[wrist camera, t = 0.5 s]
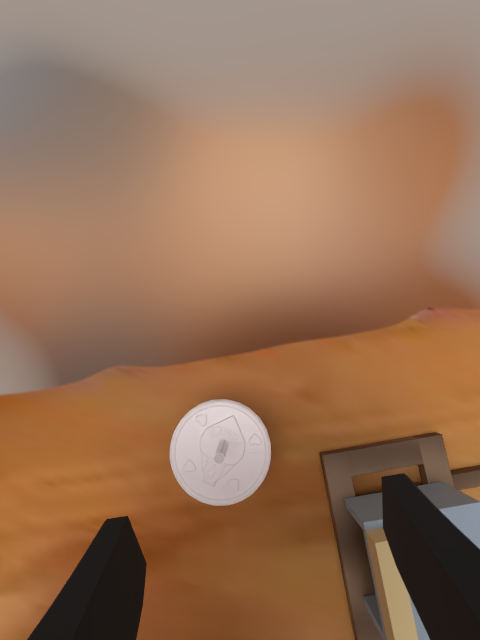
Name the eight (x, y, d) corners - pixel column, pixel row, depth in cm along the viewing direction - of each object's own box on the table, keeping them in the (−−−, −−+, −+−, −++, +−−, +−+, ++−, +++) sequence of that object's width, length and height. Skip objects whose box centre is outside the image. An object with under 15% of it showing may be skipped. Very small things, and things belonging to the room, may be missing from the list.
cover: (466, 587, 31) (533, 652, 24) (365, 606, 31) (402, 676, 24) (442, 481, 32) (499, 512, 25) (344, 498, 32) (373, 534, 25)
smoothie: (274, 408, 34) (295, 431, 20) (248, 481, 33) (252, 556, 20) (205, 382, 35) (180, 386, 21) (178, 453, 34) (132, 507, 20)
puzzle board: (594, 601, 32) (607, 610, 31) (356, 644, 32) (360, 655, 30) (543, 413, 34) (554, 414, 33) (319, 452, 34) (322, 455, 33)
